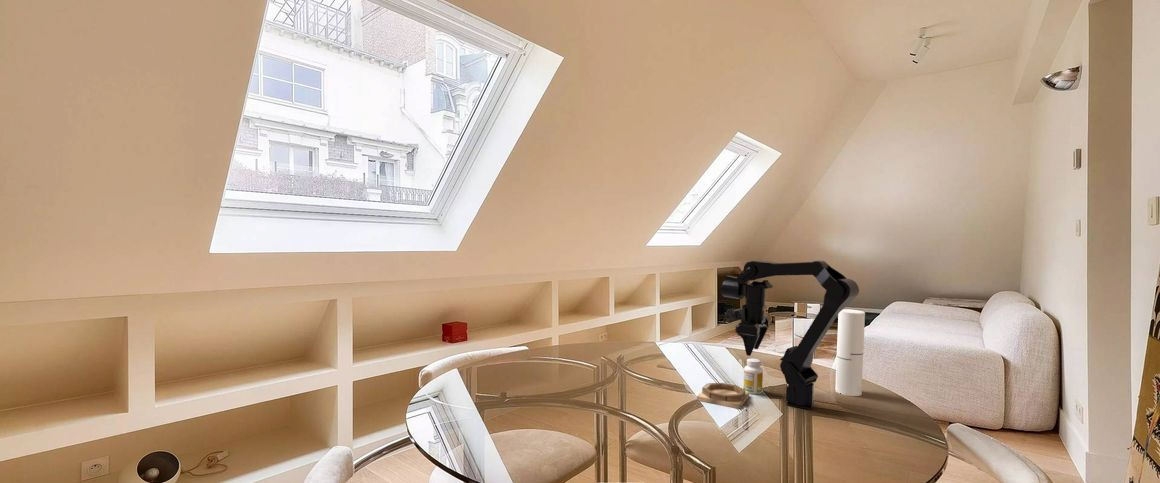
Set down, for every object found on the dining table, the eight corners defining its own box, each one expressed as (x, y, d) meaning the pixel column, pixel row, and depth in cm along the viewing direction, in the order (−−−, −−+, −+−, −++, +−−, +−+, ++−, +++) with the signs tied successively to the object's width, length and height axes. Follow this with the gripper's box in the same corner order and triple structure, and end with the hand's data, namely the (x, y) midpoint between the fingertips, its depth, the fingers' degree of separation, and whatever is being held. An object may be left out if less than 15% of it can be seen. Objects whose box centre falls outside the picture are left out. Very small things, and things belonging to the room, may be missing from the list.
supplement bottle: (759, 389, 159) (760, 358, 159) (764, 395, 154) (765, 362, 153) (741, 388, 160) (742, 357, 159) (745, 394, 154) (746, 362, 154)
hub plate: (749, 396, 152) (749, 387, 152) (739, 408, 142) (739, 399, 142) (709, 388, 159) (709, 380, 158) (696, 400, 148) (697, 391, 148)
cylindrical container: (864, 397, 154) (868, 314, 153) (839, 395, 155) (842, 312, 154) (857, 389, 161) (860, 309, 160) (832, 387, 162) (835, 308, 161)
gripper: (736, 294, 168) (734, 342, 169) (719, 302, 152) (716, 354, 153) (772, 298, 162) (769, 347, 163) (758, 307, 146) (755, 361, 147)
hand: (752, 352), depth 157 cm, fingers open, 9 cm apart
